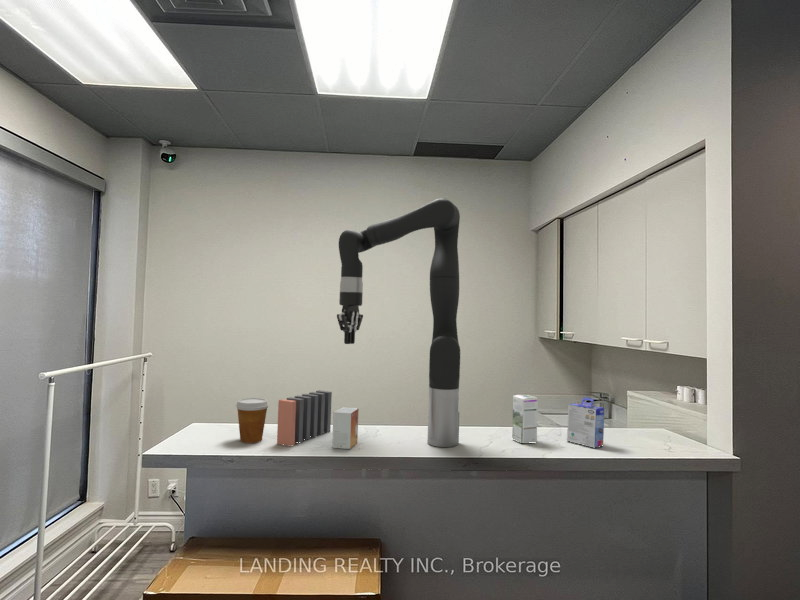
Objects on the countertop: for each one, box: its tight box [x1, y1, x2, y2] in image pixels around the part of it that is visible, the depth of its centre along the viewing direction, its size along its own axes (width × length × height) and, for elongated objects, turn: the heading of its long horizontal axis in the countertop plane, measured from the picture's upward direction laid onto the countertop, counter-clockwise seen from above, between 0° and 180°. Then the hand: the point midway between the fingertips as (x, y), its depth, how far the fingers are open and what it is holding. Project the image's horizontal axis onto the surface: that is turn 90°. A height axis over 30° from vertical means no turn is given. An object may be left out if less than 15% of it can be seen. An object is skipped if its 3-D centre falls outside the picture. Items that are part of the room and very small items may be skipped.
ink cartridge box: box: [566, 397, 605, 448], centre depth 156 cm, size 10×6×14 cm, turn 39°
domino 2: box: [286, 396, 304, 444], centre depth 148 cm, size 2×5×13 cm, turn 65°
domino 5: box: [308, 391, 325, 436], centre depth 159 cm, size 2×5×13 cm, turn 65°
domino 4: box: [301, 393, 318, 438], centre depth 155 cm, size 2×5×13 cm, turn 65°
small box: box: [331, 406, 360, 450], centre depth 146 cm, size 8×6×10 cm
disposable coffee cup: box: [235, 397, 270, 444], centre depth 148 cm, size 10×10×12 cm
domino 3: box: [293, 394, 311, 441], centre depth 152 cm, size 2×5×13 cm, turn 65°
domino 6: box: [315, 389, 333, 433], centre depth 162 cm, size 2×5×13 cm, turn 65°
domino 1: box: [276, 398, 296, 447], centre depth 145 cm, size 2×5×13 cm, turn 65°
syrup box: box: [512, 394, 538, 444], centre depth 157 cm, size 6×6×14 cm
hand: (349, 343), depth 162 cm, fingers closed
